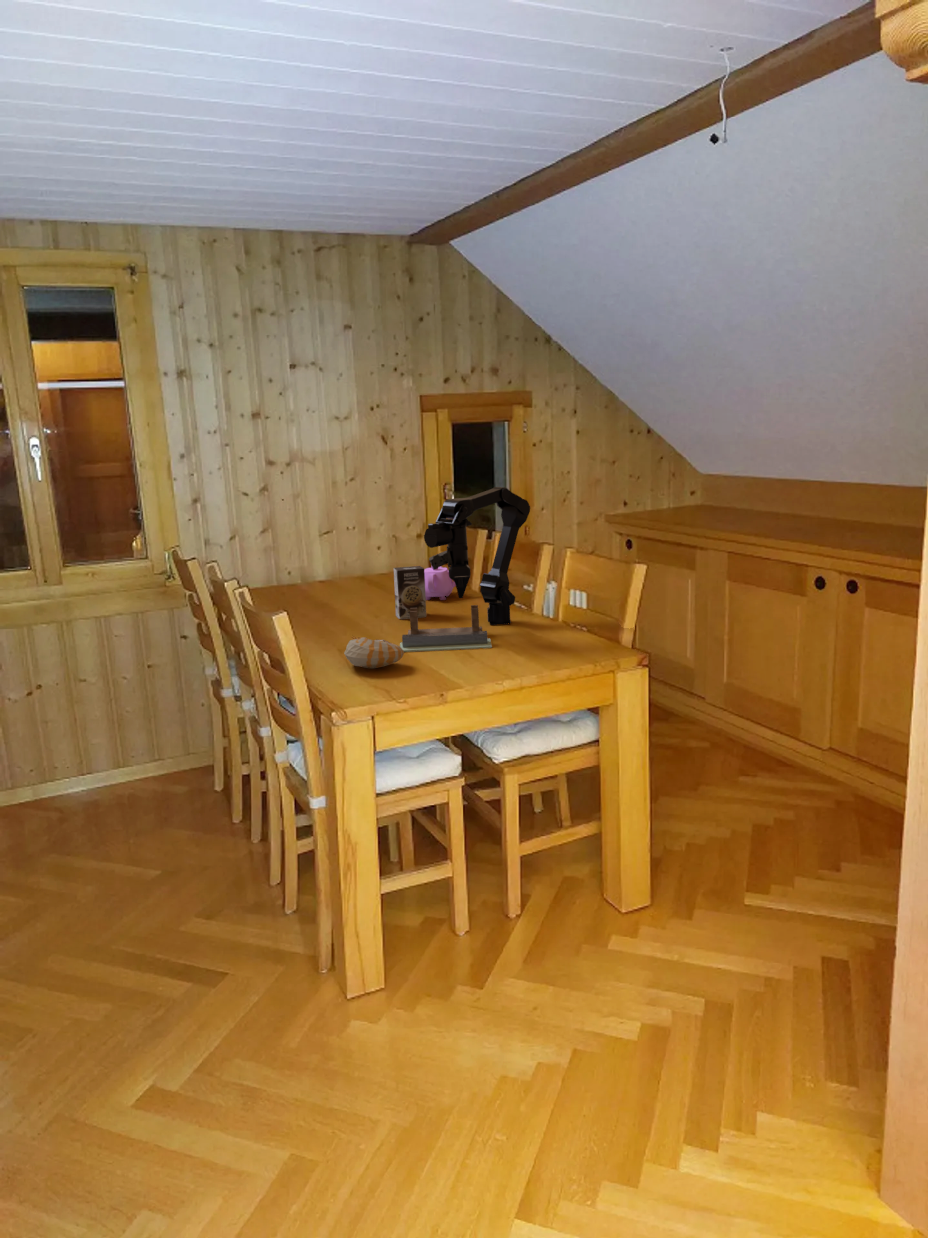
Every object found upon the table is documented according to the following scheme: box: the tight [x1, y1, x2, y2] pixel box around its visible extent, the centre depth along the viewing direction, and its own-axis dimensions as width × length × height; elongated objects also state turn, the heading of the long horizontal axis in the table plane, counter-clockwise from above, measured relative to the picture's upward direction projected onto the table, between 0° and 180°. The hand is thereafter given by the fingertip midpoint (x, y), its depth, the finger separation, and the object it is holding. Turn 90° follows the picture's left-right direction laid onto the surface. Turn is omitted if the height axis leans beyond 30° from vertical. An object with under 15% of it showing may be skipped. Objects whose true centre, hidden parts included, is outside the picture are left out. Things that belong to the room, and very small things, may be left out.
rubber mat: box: [399, 637, 493, 653], centre depth 266 cm, size 26×9×1 cm, turn 91°
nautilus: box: [343, 635, 405, 669], centre depth 250 cm, size 8×22×15 cm
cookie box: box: [393, 565, 427, 620], centre depth 302 cm, size 9×6×16 cm
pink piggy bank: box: [424, 565, 456, 601], centre depth 330 cm, size 18×17×12 cm
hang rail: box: [401, 630, 488, 648], centre depth 265 cm, size 24×3×3 cm, turn 91°
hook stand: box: [407, 604, 483, 634], centre depth 275 cm, size 22×8×8 cm, turn 91°
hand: (460, 594), depth 277 cm, fingers open, 9 cm apart
